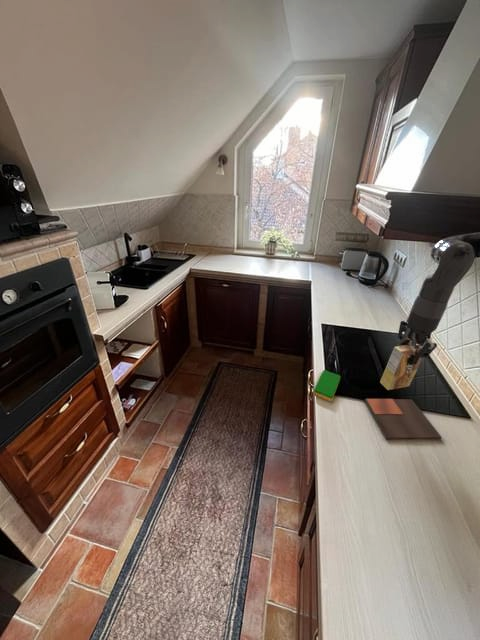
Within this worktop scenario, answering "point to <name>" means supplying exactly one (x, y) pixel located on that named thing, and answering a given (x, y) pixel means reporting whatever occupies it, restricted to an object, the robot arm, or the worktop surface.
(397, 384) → the candy box
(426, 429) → the board
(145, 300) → the worktop surface
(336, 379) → the dish sponge
